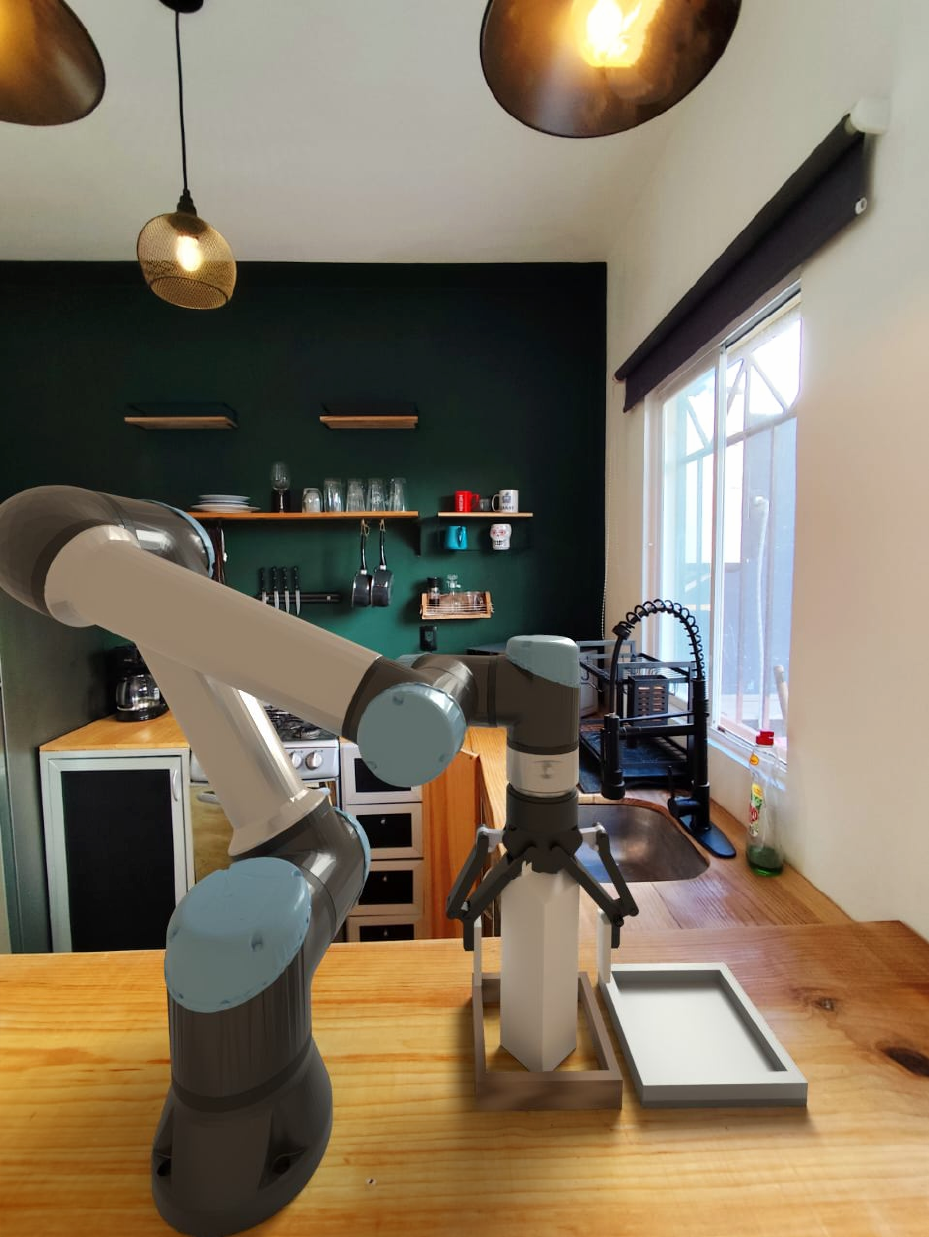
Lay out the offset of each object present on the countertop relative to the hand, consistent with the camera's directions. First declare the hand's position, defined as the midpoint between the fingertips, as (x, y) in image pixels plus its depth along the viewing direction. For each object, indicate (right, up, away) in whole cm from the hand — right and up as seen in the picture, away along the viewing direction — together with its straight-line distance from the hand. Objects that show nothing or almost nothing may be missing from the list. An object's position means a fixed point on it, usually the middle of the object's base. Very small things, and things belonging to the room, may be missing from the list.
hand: (540, 975), depth 57 cm
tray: (+17, -8, +2) cm, 19 cm away
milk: (0, -8, +1) cm, 8 cm away
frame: (0, -8, +1) cm, 8 cm away
